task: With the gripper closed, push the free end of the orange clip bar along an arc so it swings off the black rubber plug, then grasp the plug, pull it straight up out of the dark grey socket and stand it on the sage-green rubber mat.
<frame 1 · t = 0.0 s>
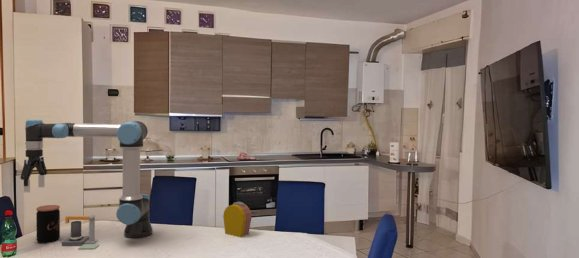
hand: (34, 189, 205), 28 cm above the table, fingers open, 13 cm apart
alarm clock: (237, 234, 229), on the table
coffee jar: (48, 240, 210), on the table
mat: (88, 247, 201), on the table
clip: (80, 219, 207), point 12 cm above the table, hinge at 0.0°
socket: (76, 242, 207), on the table
plug: (76, 242, 207), resting in socket
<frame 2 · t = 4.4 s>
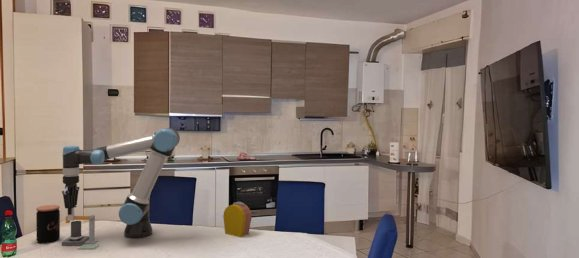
hand: (70, 220, 205), 12 cm above the table, fingers closed
clip: (80, 219, 207), point 12 cm above the table, hinge at -1.9°, touching gripper
everything else where it was.
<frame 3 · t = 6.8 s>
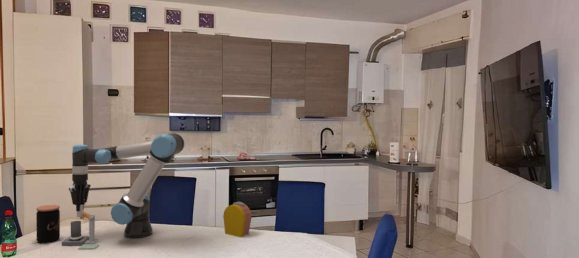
hand: (79, 216, 212), 12 cm above the table, fingers closed
clip: (87, 217, 211), point 12 cm above the table, hinge at -45.5°, touching gripper
everything else where it was.
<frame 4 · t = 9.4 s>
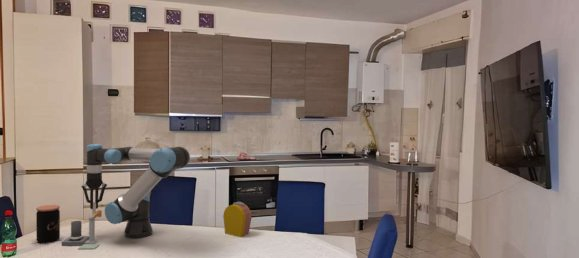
hand: (94, 214, 217), 12 cm above the table, fingers closed
clip: (95, 216, 213), point 12 cm above the table, hinge at -86.2°, touching gripper
everything else where it was.
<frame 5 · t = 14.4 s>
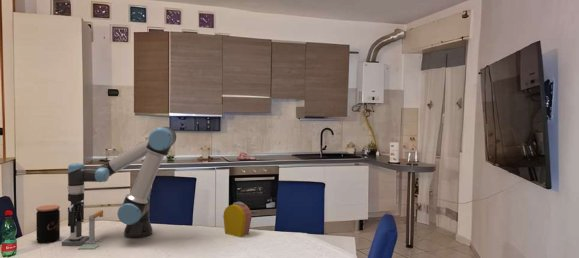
hand: (76, 236, 207), 3 cm above the table, fingers closed on plug, 6 cm apart
clip: (96, 216, 213), point 12 cm above the table, hinge at -90.0°
plug: (76, 242, 207), resting in socket, touching gripper
everything else where it was.
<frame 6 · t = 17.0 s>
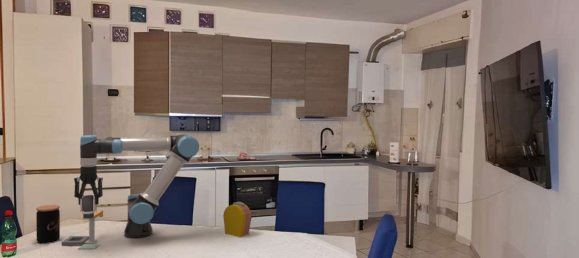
hand: (88, 210, 200), 19 cm above the table, fingers closed on plug, 5 cm apart
plug: (88, 217, 200), point 15 cm above the table, touching gripper
everything else where it was.
when the fingers open (5 cm above the table, at t = 19.8 s): plug drops 1 cm, resting on mat.
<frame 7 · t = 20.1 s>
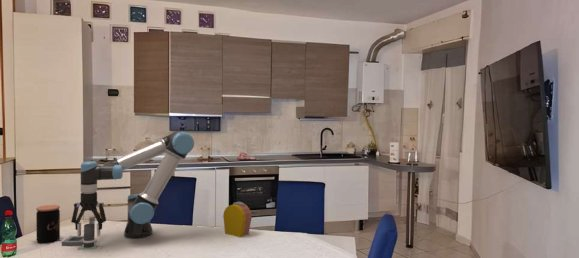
hand: (88, 235, 200), 6 cm above the table, fingers open, 9 cm apart
plug: (88, 246, 201), point 1 cm above the table, touching mat
everything else where it was.
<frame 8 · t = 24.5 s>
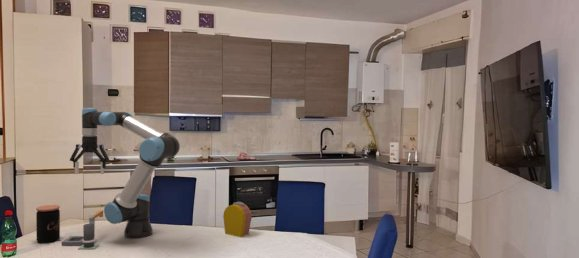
hand: (89, 173, 218), 35 cm above the table, fingers open, 13 cm apart
nothing on the table moved.
at the end: clip at -90° (first picture: +0°); plug inside the target area on the mat (0.0 cm from its centre), point 0.6 cm above the mat's base; plug tilted 1° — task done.
